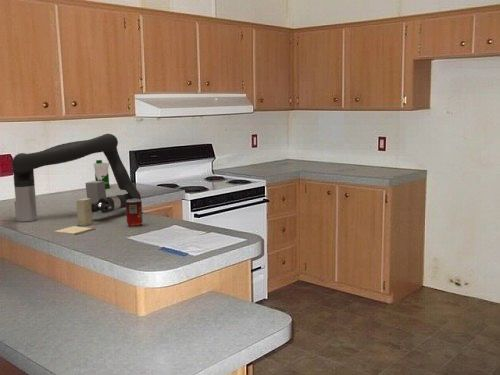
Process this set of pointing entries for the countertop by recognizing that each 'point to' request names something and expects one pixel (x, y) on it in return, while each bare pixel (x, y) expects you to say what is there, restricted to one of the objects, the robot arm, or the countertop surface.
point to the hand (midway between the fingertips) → (85, 209)
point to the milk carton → (102, 172)
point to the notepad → (75, 230)
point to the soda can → (134, 212)
